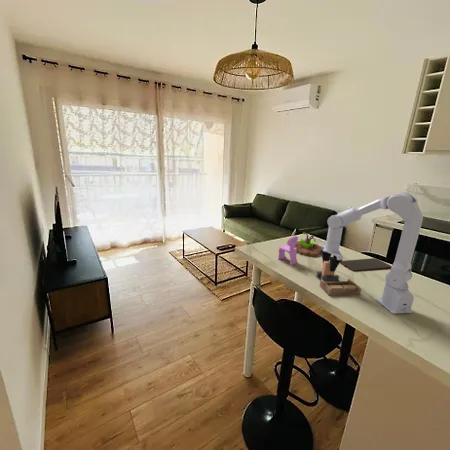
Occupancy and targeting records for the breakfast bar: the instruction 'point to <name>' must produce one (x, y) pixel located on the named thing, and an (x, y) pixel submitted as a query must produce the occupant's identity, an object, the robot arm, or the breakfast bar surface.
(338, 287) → the offcut
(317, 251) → the plant
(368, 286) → the breakfast bar surface
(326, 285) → the brown shallow tray
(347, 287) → the offcut
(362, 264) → the dark rectangular slab
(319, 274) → the stand
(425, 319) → the breakfast bar surface
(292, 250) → the toy chair
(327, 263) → the salmon pink block
